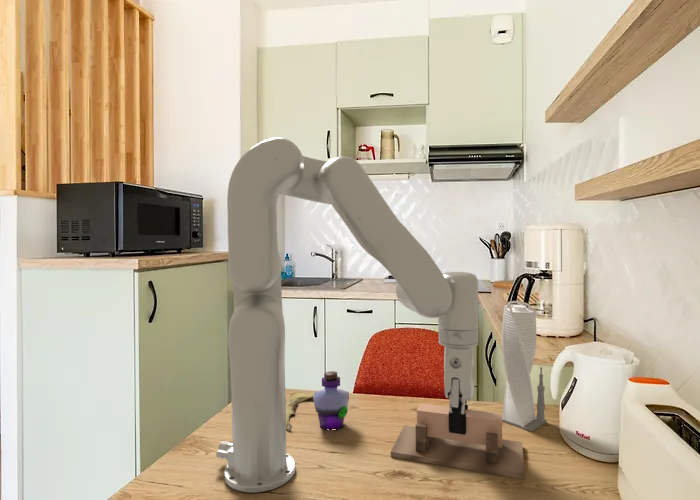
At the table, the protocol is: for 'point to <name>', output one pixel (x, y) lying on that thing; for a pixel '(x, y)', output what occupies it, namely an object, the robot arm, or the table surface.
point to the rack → (461, 452)
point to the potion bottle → (331, 402)
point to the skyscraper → (520, 368)
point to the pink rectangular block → (475, 424)
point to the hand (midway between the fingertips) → (458, 427)
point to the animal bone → (294, 405)
